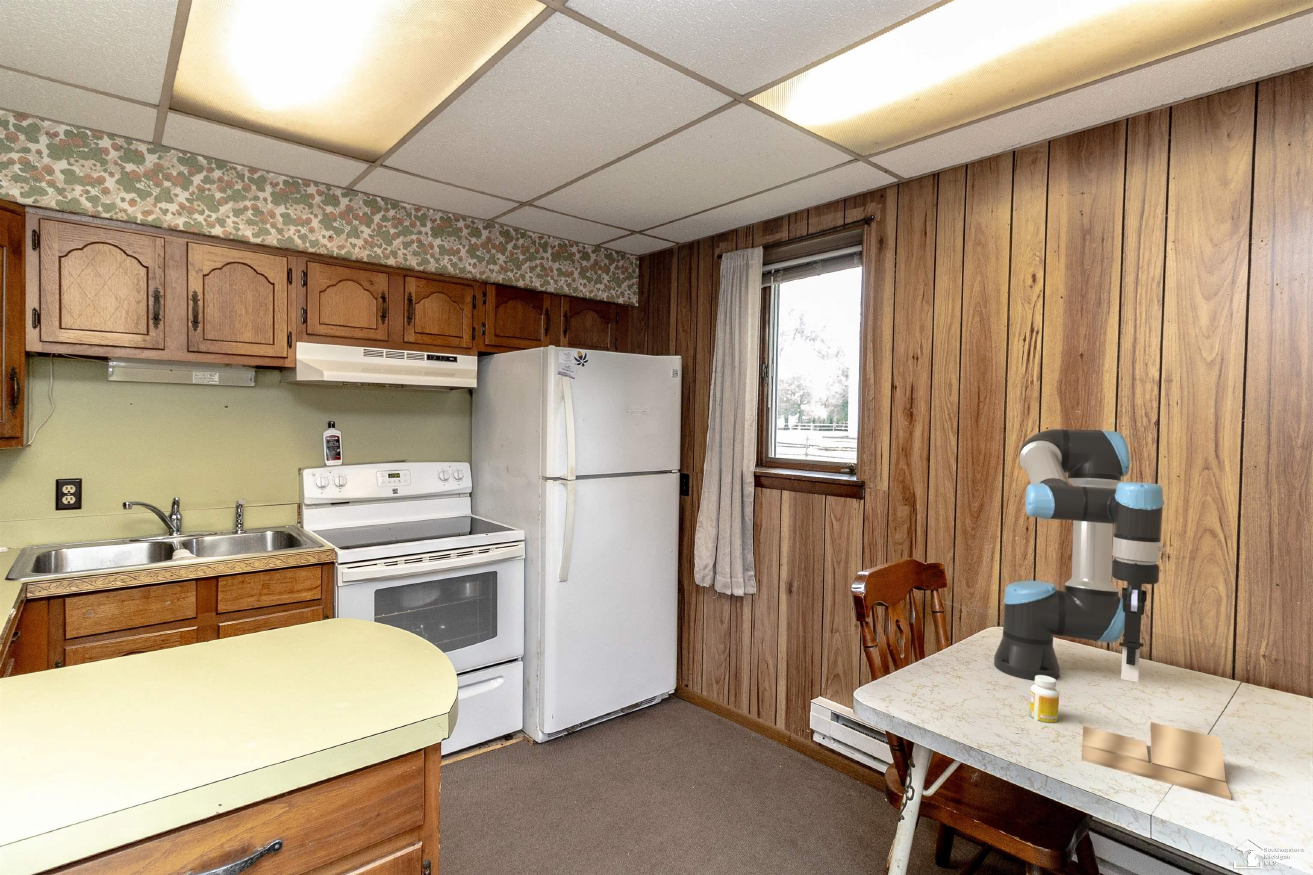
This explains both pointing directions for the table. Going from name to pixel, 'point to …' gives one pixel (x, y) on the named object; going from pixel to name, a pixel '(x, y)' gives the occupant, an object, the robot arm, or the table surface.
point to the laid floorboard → (1156, 772)
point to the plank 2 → (1187, 751)
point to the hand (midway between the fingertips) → (1129, 679)
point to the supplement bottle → (1044, 700)
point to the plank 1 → (1115, 744)
